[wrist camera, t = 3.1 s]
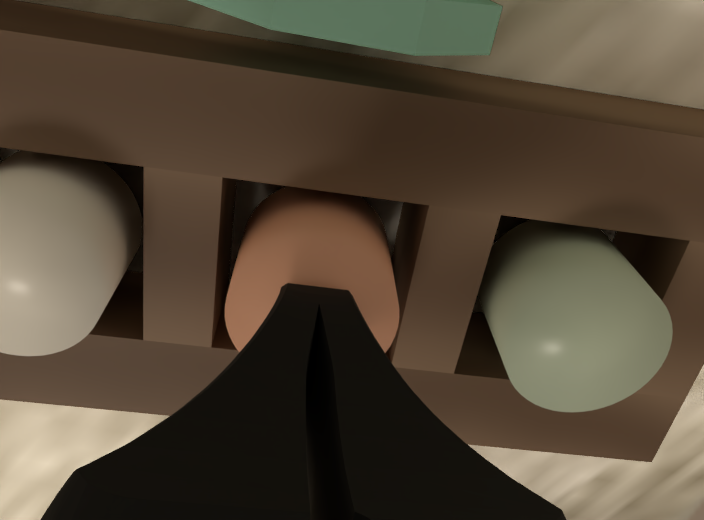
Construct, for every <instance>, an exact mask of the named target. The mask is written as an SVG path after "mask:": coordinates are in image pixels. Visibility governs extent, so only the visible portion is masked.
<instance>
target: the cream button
mask: <svg viewBox="0 0 704 520" xmlns="http://www.w3.org/2000/svg"><path fill="white" fill-rule="evenodd" d="M142 228H143V227H142V217H141V213H140V209H139V206H138V203H137V201H136V199H135V197H134V195H133V193H132V191H131V190H130V189H129V187H128V186H127V184H126V183H125V182H124V181H123V179H122V178H121V177H120V176H119V175H118V174H117V173H116V172H115V171H114V170H112V169H111V168H110V167H109V166H107V165H106V164H105V163H103V162H102V161H98V160H91V159H83V158H76V157H69V156H61V155H54V154H46V153H39V152H32V151H24V150H21V151H19V152H17V153H15V154H13V155H11V156H10V157H8V158H7V159H5V160H4V161H3V162H1V163H0V352H1V353H5V354H11V355H17V356H42V355H48V354H53V353H57V352H60V351H63V350H65V349H68V348H70V347H72V346H74V345H75V344H77V343H79V342H80V341H81V340H82V339H84V338H85V337H86V336H87V335H88V334H89V333H90V332H91V331H92V329H93V328H94V326H95V325H96V323H97V322H98V320H99V318H100V316H101V314H102V313H103V311H104V309H105V307H106V306H107V304H108V302H109V300H110V299H111V297H112V295H113V293H114V291H115V290H116V288H117V286H118V284H119V283H120V281H121V279H122V277H123V276H124V274H125V272H126V270H127V269H128V267H129V265H130V263H131V261H132V260H133V258H134V256H135V254H136V253H137V250H138V248H139V246H140V242H141V238H142Z"/></svg>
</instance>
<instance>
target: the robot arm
mask: <svg viewBox="0 0 704 520" xmlns="http://www.w3.org/2000/svg"><path fill="white" fill-rule="evenodd" d="M41 520H566V518H565V516H564V514H563V511H562V510H561V509H559V508H558V507H556V506H555V505H553V504H551V503H550V502H548V501H547V500H545V499H543V498H542V497H540V496H539V495H537V494H536V493H534V492H532V491H531V490H529V489H528V488H526V487H524V486H523V485H521V484H520V483H518V482H516V481H515V480H513V479H512V478H510V477H509V476H508V475H506V474H505V473H504V472H502V471H501V470H500V469H498V468H497V467H495V466H494V465H493V464H491V463H490V462H489V461H487V460H486V459H485V458H483V457H482V456H481V455H480V454H478V453H477V452H476V451H475V450H473V449H472V448H471V447H470V446H468V445H467V444H466V443H465V442H464V441H463V440H462V439H460V438H459V437H458V436H457V435H456V434H455V433H454V432H453V431H452V430H450V429H449V428H448V427H447V426H446V425H445V424H444V423H443V422H442V421H441V420H440V419H439V418H438V417H437V416H436V415H435V414H434V413H433V412H432V411H431V410H430V409H429V408H428V407H427V406H426V405H425V404H424V403H423V402H422V401H421V399H420V398H419V397H418V396H417V395H416V394H415V393H414V392H413V390H412V389H411V388H410V387H409V386H408V384H407V383H406V382H405V380H404V379H403V378H402V376H401V375H400V374H399V372H398V371H397V370H396V368H395V367H394V366H393V364H392V363H391V361H390V360H389V358H388V357H387V355H386V354H385V352H384V351H383V349H382V348H381V346H380V344H379V343H378V341H377V340H376V338H375V337H374V335H373V333H372V332H371V330H370V328H369V326H368V325H367V323H366V321H365V319H364V317H363V315H362V314H361V312H360V310H359V308H358V306H357V304H356V302H355V299H354V297H353V295H352V294H351V293H350V291H349V290H343V289H335V288H326V287H318V286H310V285H301V284H293V283H287V284H285V285H284V286H282V287H281V290H280V293H279V295H278V298H277V300H276V302H275V304H274V305H273V307H272V309H271V310H270V312H269V314H268V315H267V317H266V318H265V320H264V321H263V323H262V324H261V326H260V327H259V328H258V330H257V331H256V333H255V334H254V335H253V337H252V338H251V339H250V341H249V342H248V343H247V344H246V345H245V347H244V348H243V349H242V350H241V351H240V352H239V354H238V355H237V356H236V357H235V358H234V360H233V361H232V362H231V363H230V364H229V365H228V366H227V367H226V368H225V369H224V370H223V371H222V372H221V373H220V374H219V375H218V376H217V377H216V378H215V379H214V380H213V381H212V382H211V383H210V384H209V385H208V386H207V387H206V388H204V389H203V390H202V391H201V392H200V393H199V394H197V395H196V396H195V397H194V398H192V399H191V400H190V401H189V402H188V403H186V404H185V405H184V406H183V407H182V408H180V409H179V410H178V411H176V412H175V413H174V414H172V415H171V416H170V417H168V418H167V419H165V420H164V421H162V422H161V423H159V424H158V425H156V426H155V427H153V428H152V429H150V430H148V431H147V432H145V433H144V434H142V435H141V436H139V437H138V438H136V439H135V440H133V441H131V442H130V443H128V444H126V445H125V446H123V447H121V448H119V449H117V450H115V451H113V452H111V453H109V454H107V455H105V456H103V457H101V458H99V459H97V460H95V461H93V462H91V463H89V464H87V465H85V466H83V467H80V468H78V469H76V470H75V471H74V472H73V473H72V475H71V476H70V477H69V479H68V480H67V481H66V483H65V484H64V485H63V487H62V488H61V490H60V491H59V492H58V494H57V495H56V497H55V498H54V500H53V501H52V503H51V504H50V506H49V507H48V509H47V510H46V512H45V514H44V515H43V517H42V518H41Z"/></svg>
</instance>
